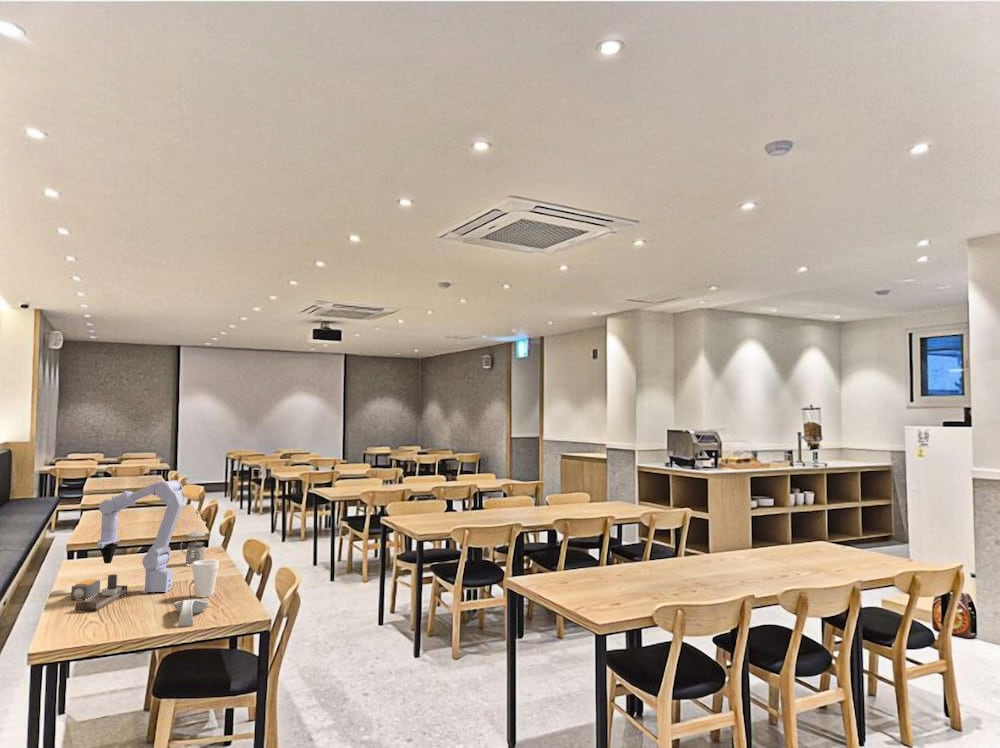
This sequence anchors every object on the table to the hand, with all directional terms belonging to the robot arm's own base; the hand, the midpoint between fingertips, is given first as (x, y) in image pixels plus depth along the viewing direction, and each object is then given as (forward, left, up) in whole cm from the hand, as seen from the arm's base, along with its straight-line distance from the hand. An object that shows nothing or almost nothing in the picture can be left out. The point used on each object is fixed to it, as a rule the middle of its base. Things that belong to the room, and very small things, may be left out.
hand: (107, 563), depth 273 cm
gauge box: (+2, +11, -10) cm, 15 cm away
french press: (-17, -47, -11) cm, 51 cm away
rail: (-8, +20, -10) cm, 24 cm away
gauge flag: (+2, +11, -5) cm, 13 cm away
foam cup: (-42, +11, -11) cm, 45 cm away
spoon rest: (-47, +39, -11) cm, 62 cm away
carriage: (-8, +13, -9) cm, 18 cm away
